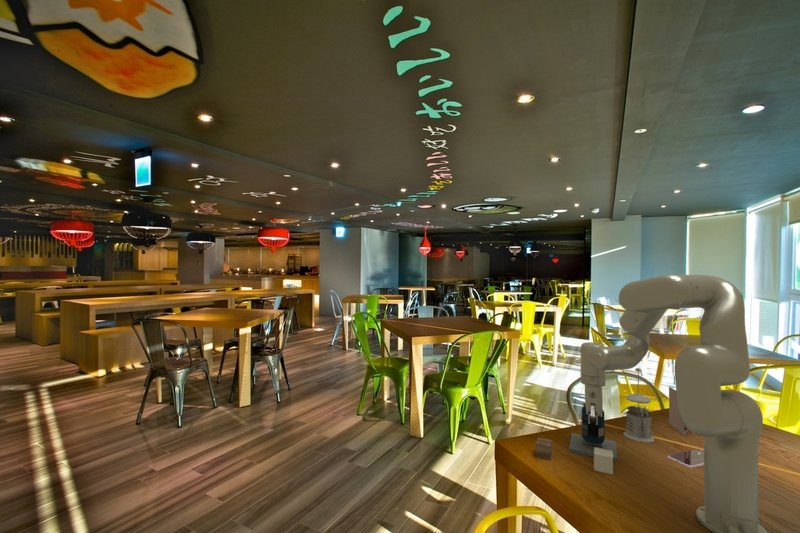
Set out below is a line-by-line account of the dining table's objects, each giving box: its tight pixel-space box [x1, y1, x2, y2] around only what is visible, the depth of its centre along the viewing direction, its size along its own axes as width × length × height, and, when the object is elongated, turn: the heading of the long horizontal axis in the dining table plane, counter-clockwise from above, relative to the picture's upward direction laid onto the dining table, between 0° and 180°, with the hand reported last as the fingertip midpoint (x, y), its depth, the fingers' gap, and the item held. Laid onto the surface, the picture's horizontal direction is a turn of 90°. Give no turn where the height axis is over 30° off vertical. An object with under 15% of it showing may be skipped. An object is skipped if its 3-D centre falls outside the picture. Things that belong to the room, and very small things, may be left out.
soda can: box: [581, 403, 606, 445], centre depth 128 cm, size 7×7×12 cm
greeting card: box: [668, 386, 690, 436], centre depth 144 cm, size 11×7×15 cm, turn 132°
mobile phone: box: [667, 449, 704, 468], centre depth 121 cm, size 8×1×15 cm
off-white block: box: [593, 447, 614, 475], centre depth 114 cm, size 5×5×5 cm
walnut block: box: [535, 437, 553, 461], centre depth 122 cm, size 4×4×4 cm
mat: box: [568, 432, 618, 462], centre depth 128 cm, size 14×14×1 cm
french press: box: [623, 367, 656, 443], centre depth 137 cm, size 10×12×25 cm
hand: (593, 431), depth 127 cm, fingers closed on soda can, 6 cm apart
